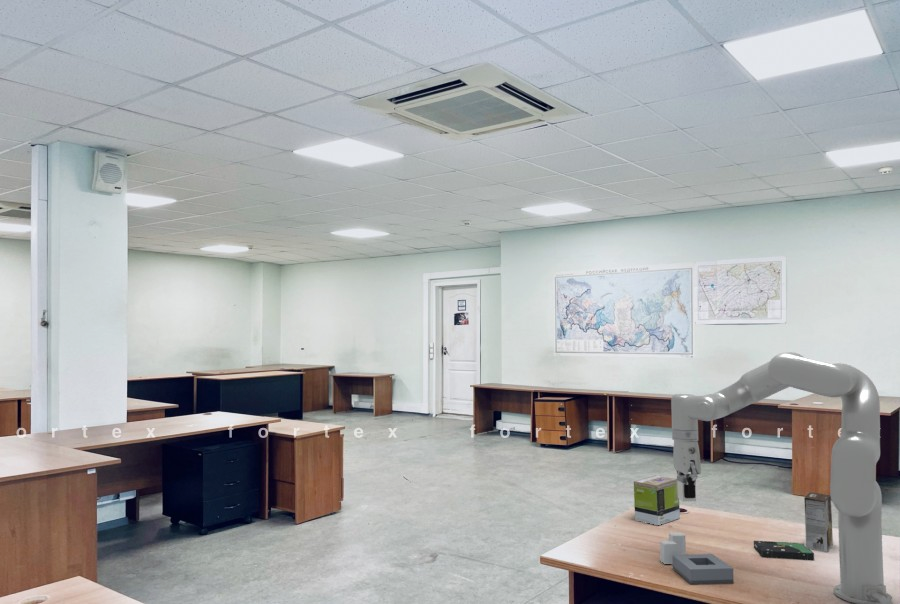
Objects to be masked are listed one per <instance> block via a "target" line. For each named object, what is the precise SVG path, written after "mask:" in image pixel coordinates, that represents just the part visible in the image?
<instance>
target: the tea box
mask: <svg viewBox="0 0 900 604" xmlns="http://www.w3.org/2000/svg"><path fill="white" fill-rule="evenodd" d="M633 495H634V496H633V499H634V501H633V503H634V520H635V521H636V520H637V521H636V522H639V521H641V522H640V523H643V522H646V523H645V524H647V523H650V524H649V525H651V524H654V525H653V526H656V525H659V526H661V524H662V525H664V524H667V523H671V522H673V521H676V520H679V519H680V518H681V512H680V511H681V508H680V499H678V488H677V478H672V477H666V476H660V475H652V476H648V477H646V478H642V479H638V480H634V481H633Z"/></svg>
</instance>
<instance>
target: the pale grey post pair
mask: <svg viewBox="0 0 900 604" xmlns="http://www.w3.org/2000/svg"><path fill="white" fill-rule="evenodd" d="M659 542H660V543H659V548H660V550H659V554H660V555H659V556H660V562H661V563H662V562H663V563H664V564H673V560H672V555H687V551H686V534H684V533H683V532H668V540H660V541H659ZM663 563H662V564H663ZM664 564H663V565H664Z"/></svg>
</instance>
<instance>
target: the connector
mask: <svg viewBox="0 0 900 604" xmlns="http://www.w3.org/2000/svg"><path fill="white" fill-rule="evenodd" d="M689 477H691V476H688V478H689ZM676 479H677V488H678V499H679V501H682V502H696V501H697V488H696V487H697V485H696V484H695V498H685V497H684V484H685V476H684V475H676ZM695 482H696V483H697V481H695Z"/></svg>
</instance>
